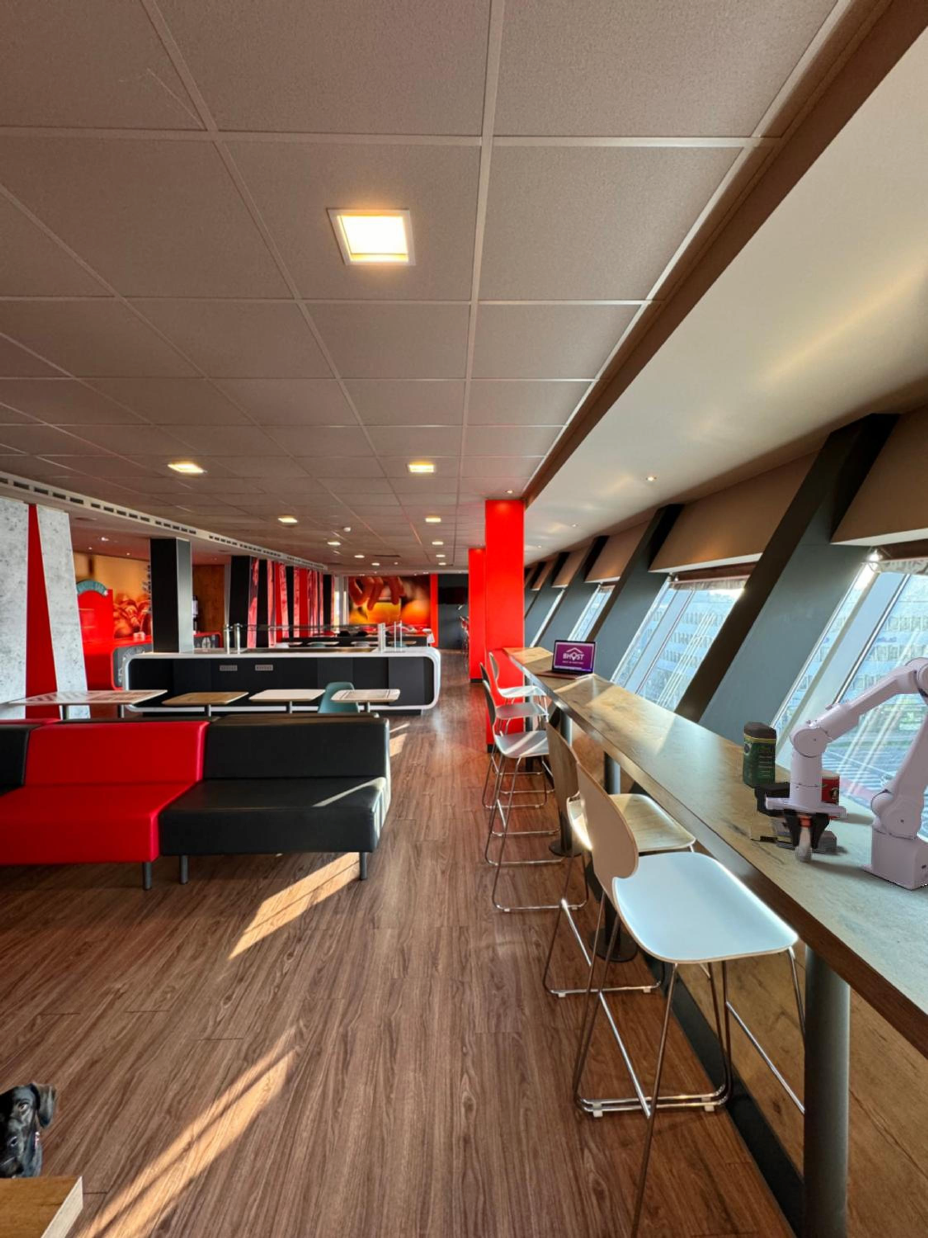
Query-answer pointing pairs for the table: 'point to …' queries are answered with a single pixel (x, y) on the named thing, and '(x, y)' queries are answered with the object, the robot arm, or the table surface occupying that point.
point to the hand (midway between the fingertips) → (803, 846)
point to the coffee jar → (759, 754)
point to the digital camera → (771, 796)
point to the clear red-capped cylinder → (804, 839)
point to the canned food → (830, 788)
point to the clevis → (783, 838)
